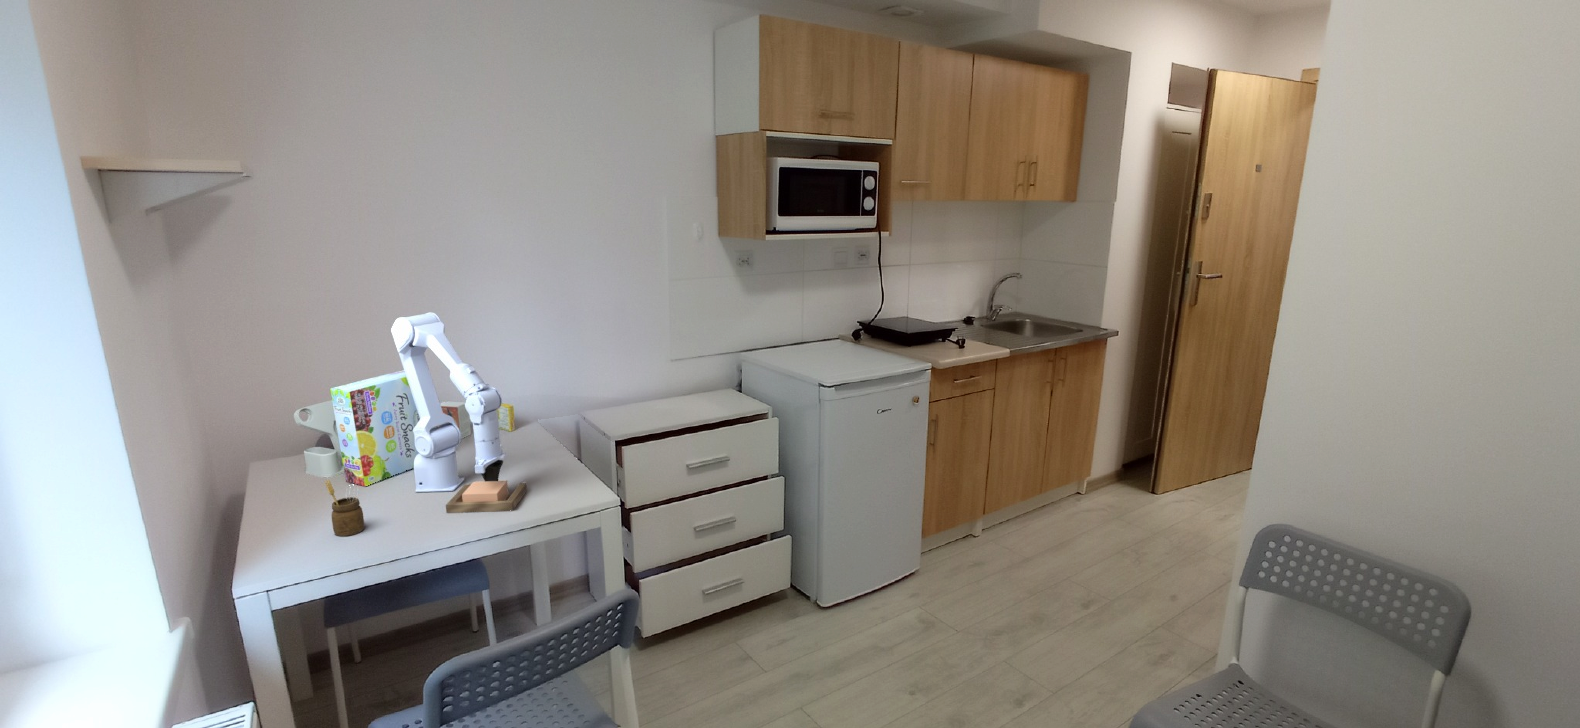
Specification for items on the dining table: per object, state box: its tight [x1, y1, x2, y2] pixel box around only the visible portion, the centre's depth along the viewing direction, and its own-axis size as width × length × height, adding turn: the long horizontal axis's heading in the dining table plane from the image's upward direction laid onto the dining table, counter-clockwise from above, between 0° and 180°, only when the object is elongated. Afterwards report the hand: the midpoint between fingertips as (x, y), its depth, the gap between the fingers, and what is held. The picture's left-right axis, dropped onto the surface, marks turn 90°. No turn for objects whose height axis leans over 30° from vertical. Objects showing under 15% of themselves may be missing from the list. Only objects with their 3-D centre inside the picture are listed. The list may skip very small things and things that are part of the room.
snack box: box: [329, 369, 432, 487], centre depth 195 cm, size 22×9×26 cm, turn 155°
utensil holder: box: [324, 478, 365, 537], centre depth 161 cm, size 6×6×12 cm
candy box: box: [497, 403, 515, 433], centre depth 235 cm, size 16×2×8 cm, turn 58°
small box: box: [435, 400, 472, 440], centre depth 225 cm, size 8×6×10 cm
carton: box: [462, 480, 509, 502], centre depth 177 cm, size 8×8×4 cm
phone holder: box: [293, 399, 344, 479], centre depth 200 cm, size 17×10×18 cm, turn 157°
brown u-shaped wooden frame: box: [445, 482, 528, 514], centre depth 178 cm, size 15×12×2 cm
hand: (492, 490), depth 181 cm, fingers closed, pressing on carton
